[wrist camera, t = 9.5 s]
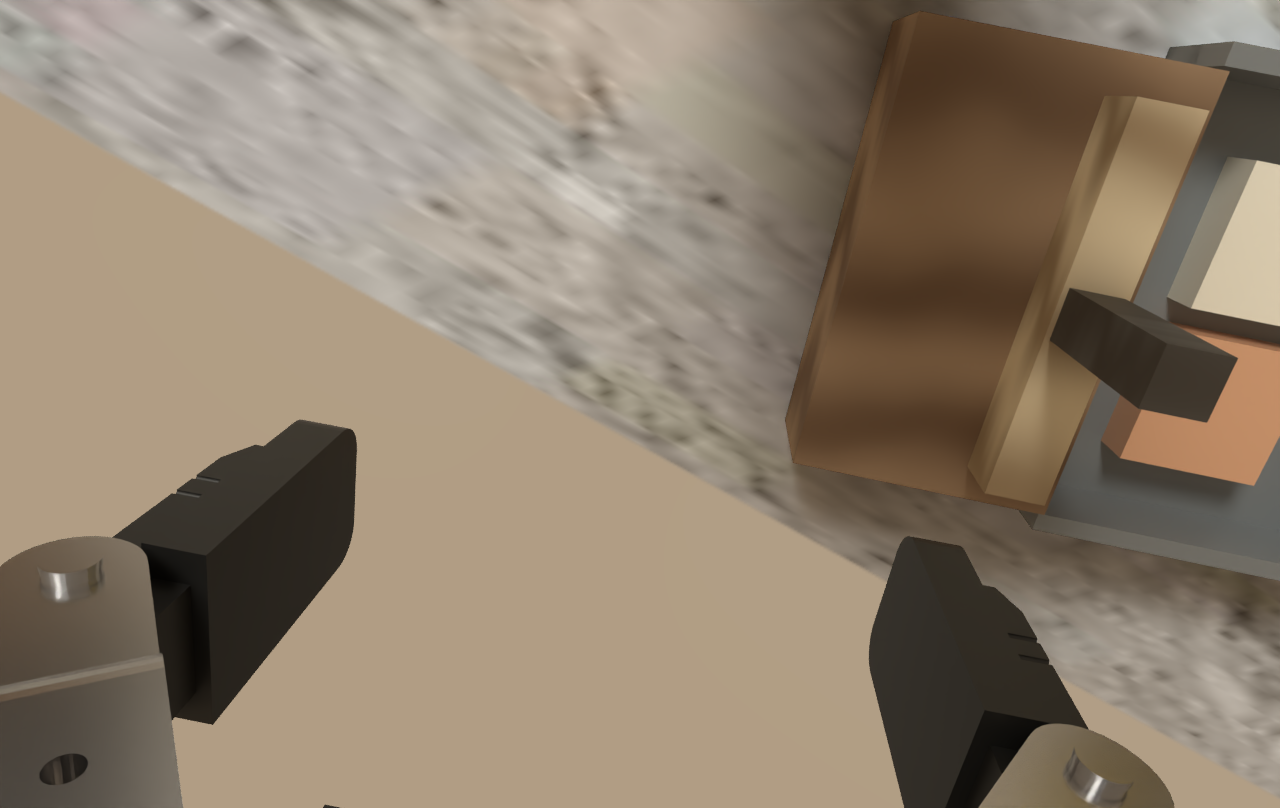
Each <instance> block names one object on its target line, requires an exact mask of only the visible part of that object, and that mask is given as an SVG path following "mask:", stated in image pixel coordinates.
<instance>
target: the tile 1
mask: <svg viewBox="0 0 1280 808" xmlns="http://www.w3.org/2000/svg"><path fill="white" fill-rule="evenodd" d="M1170 323H1172V324H1174V325H1176V326H1178V327H1180V328H1182V329H1183V330H1185V331H1187V332H1189V333H1191V334H1193V335H1195V336H1197V337H1199V338H1201V339H1203V340H1204V341H1206V342H1208V343H1210V344H1212V345H1214V346H1216V347H1218V348H1220V349H1222V350H1224V351H1225V352H1227V353H1229V354H1231V355H1233V356H1235V357H1237V358H1238V360H1237V362H1236V364H1235V366H1234V368H1233V370H1232V372H1231V374H1230V376H1229V379H1228V381H1227V383H1226V385H1225V387H1224V389H1223V391H1222V393H1221V395H1220V397H1219V399H1218V401H1217V404H1216V406H1215V408H1214V410H1213V412H1212V414H1211V416H1210V418H1209V420H1208V422H1207V423H1205V422H1200V421H1195V420H1190V419H1186V418H1181V417H1176V416H1171V415H1166V414H1161V413H1157V412H1152V411H1147V410H1142V409H1138V408H1137V407H1135V406H1134V405H1133V404H1132V403H1130V402H1129V401H1128V400H1126V399H1125V398H1124V397H1122V396H1121V395H1120V397H1119V400H1118V402H1117V404H1116V407H1115V409H1114V411H1113V413H1112V416H1111V418H1110V420H1109V423H1108V425H1107V427H1106V430H1105V432H1104V434H1103V437H1102V439H1101V441H1102V442H1103V443H1104V444H1105V445H1106V446H1108V447H1109V448H1110V449H1111V450H1112V451H1113V452H1114V453H1115V454H1116V455H1117V456H1118V457H1119V458H1122V459H1127V460H1132V461H1136V462H1141V463H1146V464H1151V465H1156V466H1161V467H1165V468H1170V469H1175V470H1180V471H1185V472H1190V473H1194V474H1199V475H1204V476H1209V477H1214V478H1219V479H1223V480H1228V481H1233V482H1238V483H1243V484H1248V485H1252V486H1254V485H1255V483H1256V481H1257V479H1258V477H1259V475H1260V473H1261V471H1262V469H1263V467H1264V465H1265V464H1266V462H1267V460H1268V458H1269V456H1270V454H1271V452H1272V450H1273V448H1274V446H1275V444H1276V442H1277V440H1278V439H1279V437H1280V344H1277V343H1272V342H1267V341H1262V340H1257V339H1252V338H1247V337H1242V336H1237V335H1232V334H1227V333H1222V332H1217V331H1213V330H1208V329H1203V328H1198V327H1193V326H1188V325H1183V324H1178V323H1173V322H1170Z"/></svg>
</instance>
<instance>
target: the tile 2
mask: <svg viewBox="0 0 1280 808" xmlns="http://www.w3.org/2000/svg"><path fill="white" fill-rule="evenodd" d="M1167 297H1168V298H1170V299H1172V300H1174V301H1177V302H1179V303H1181V304H1183V305H1185V306H1187V307H1189V308H1192V309H1197V310H1202V311H1207V312H1212V313H1217V314H1222V315H1227V316H1231V317H1236V318H1241V319H1246V320H1251V321H1256V322H1261V323H1266V324H1271V325H1276V326H1280V165H1277V164H1272V163H1267V162H1262V161H1257V160H1250V159H1242V158H1235V157H1227V159H1226V162H1225V164H1224V166H1223V169H1222V171H1221V173H1220V176H1219V178H1218V180H1217V182H1216V185H1215V187H1214V189H1213V192H1212V194H1211V196H1210V199H1209V201H1208V203H1207V206H1206V208H1205V210H1204V212H1203V215H1202V217H1201V219H1200V222H1199V224H1198V226H1197V229H1196V231H1195V233H1194V236H1193V238H1192V240H1191V242H1190V245H1189V247H1188V249H1187V252H1186V254H1185V256H1184V259H1183V261H1182V263H1181V266H1180V268H1179V270H1178V273H1177V275H1176V277H1175V279H1174V282H1173V284H1172V286H1171V289H1170V291H1169V293H1168V296H1167Z"/></svg>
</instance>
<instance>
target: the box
mask: <svg viewBox="0 0 1280 808" xmlns="http://www.w3.org/2000/svg"><path fill="white" fill-rule="evenodd" d="M1166 59H1169V60H1174V61H1179V62H1184V63H1189V64H1195V65H1200V66H1205V67H1210V68H1215V69H1220V70H1225V71H1230V72H1229V75H1228V77H1227V79H1226V82H1225V84H1224V87H1223V89H1222V91H1221V94H1220V96H1219V99H1218V101H1217V103H1216V106H1215V108H1214V110H1213V113H1212V115H1211V118H1210V120H1209V122H1208V125H1207V127H1206V130H1205V132H1204V134H1203V137H1202V139H1201V142H1200V144H1199V146H1198V149H1197V151H1196V154H1195V156H1194V158H1193V161H1192V163H1191V166H1190V168H1189V170H1188V173H1187V175H1186V178H1185V180H1184V182H1183V185H1182V187H1181V189H1180V192H1179V194H1178V197H1177V199H1176V201H1175V204H1174V206H1173V209H1172V211H1171V213H1170V216H1169V218H1168V221H1167V223H1166V225H1165V228H1164V230H1163V233H1162V235H1161V237H1160V240H1159V242H1158V245H1157V247H1156V249H1155V252H1154V254H1153V256H1152V259H1151V261H1150V264H1149V266H1148V268H1147V271H1146V273H1145V276H1144V278H1143V280H1142V283H1141V285H1140V288H1139V290H1138V292H1137V295H1136V297H1135V300H1134V302H1133V303H1134V304H1136V305H1138V306H1140V307H1141V308H1143V309H1145V310H1147V311H1149V312H1151V313H1153V314H1155V315H1157V316H1159V317H1161V318H1162V319H1164V320H1166V321H1168V322H1173V323H1178V324H1183V325H1188V326H1193V327H1198V328H1203V329H1208V330H1213V331H1217V332H1222V333H1227V334H1232V335H1237V336H1242V337H1247V338H1252V339H1257V340H1262V341H1267V342H1272V343H1277V344H1280V326H1276V325H1271V324H1266V323H1261V322H1256V321H1251V320H1246V319H1241V318H1236V317H1231V316H1227V315H1222V314H1217V313H1212V312H1207V311H1202V310H1197V309H1192V308H1189V307H1187V306H1185V305H1183V304H1181V303H1179V302H1177V301H1174V300H1172V299H1170V298H1168V297H1167V296H1168V293H1169V291H1170V289H1171V286H1172V284H1173V282H1174V279H1175V277H1176V275H1177V273H1178V270H1179V268H1180V266H1181V263H1182V261H1183V259H1184V256H1185V254H1186V252H1187V249H1188V247H1189V245H1190V242H1191V240H1192V238H1193V236H1194V233H1195V231H1196V229H1197V226H1198V224H1199V222H1200V219H1201V217H1202V215H1203V212H1204V210H1205V208H1206V206H1207V203H1208V201H1209V199H1210V196H1211V194H1212V192H1213V189H1214V187H1215V185H1216V182H1217V180H1218V178H1219V176H1220V173H1221V171H1222V169H1223V166H1224V164H1225V162H1226V159H1227V157H1235V158H1242V159H1250V160H1257V161H1262V162H1267V163H1272V164H1277V165H1280V50H1276V49H1270V48H1265V47H1260V46H1255V45H1250V44H1245V43H1240V42H1223V43H1213V44H1202V45H1191V46H1180V47H1170V49H1169V51H1168V54H1167V56H1166ZM1119 397H1120V394H1119V393H1117V392H1116V391H1115V390H1113V389H1112V388H1111V387H1110V386H1108V385H1107V384H1106V383H1104V382H1103V381H1102V380H1101V381H1100V383H1099V386H1098V388H1097V391H1096V393H1095V395H1094V398H1093V400H1092V402H1091V405H1090V407H1089V410H1088V412H1087V414H1086V417H1085V419H1084V422H1083V424H1082V426H1081V429H1080V431H1079V434H1078V436H1077V438H1076V441H1075V443H1074V446H1073V448H1072V450H1071V453H1070V455H1069V458H1068V460H1067V462H1066V465H1065V467H1064V470H1063V472H1062V474H1061V477H1060V479H1059V481H1058V484H1057V486H1056V489H1055V491H1054V493H1053V496H1052V498H1051V501H1050V503H1049V505H1048V508H1047V510H1046V513H1045V515H1042V514H1037V513H1032V512H1027V511H1022V510H1019V511H1020V513H1021V514H1022V515H1023V517H1024V518H1025V520H1026V521H1027V523H1028V524H1029V525H1030V527H1031V528H1032V529H1033V530H1038V531H1043V532H1048V533H1053V534H1057V535H1062V536H1067V537H1072V538H1077V539H1081V540H1086V541H1091V542H1096V543H1101V544H1105V545H1110V546H1115V547H1120V548H1125V549H1129V550H1134V551H1139V552H1144V553H1149V554H1153V555H1158V556H1163V557H1168V558H1173V559H1177V560H1182V561H1187V562H1192V563H1197V564H1201V565H1206V566H1211V567H1216V568H1221V569H1225V570H1230V571H1235V572H1240V573H1244V574H1249V575H1254V576H1259V577H1264V578H1268V579H1273V580H1278V581H1280V437H1279V439H1278V440H1277V442H1276V444H1275V446H1274V448H1273V450H1272V452H1271V454H1270V456H1269V458H1268V460H1267V462H1266V464H1265V465H1264V467H1263V469H1262V471H1261V473H1260V475H1259V477H1258V479H1257V481H1256V483H1255V485H1254V486H1252V485H1248V484H1243V483H1238V482H1233V481H1228V480H1223V479H1219V478H1214V477H1209V476H1204V475H1199V474H1194V473H1190V472H1185V471H1180V470H1175V469H1170V468H1165V467H1161V466H1156V465H1151V464H1146V463H1141V462H1136V461H1132V460H1127V459H1122V458H1119V457H1118V456H1117V455H1116V454H1115V453H1114V452H1113V451H1112V450H1111V449H1110V448H1109V447H1108V446H1106V445H1105V444H1104V443H1103V442H1102V441H1101V439H1102V437H1103V434H1104V432H1105V430H1106V427H1107V425H1108V423H1109V420H1110V418H1111V416H1112V413H1113V411H1114V409H1115V407H1116V404H1117V402H1118V400H1119Z"/></svg>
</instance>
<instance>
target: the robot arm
mask: <svg viewBox="0 0 1280 808" xmlns="http://www.w3.org/2000/svg"><path fill="white" fill-rule="evenodd" d="M356 455H357V443H356V436H355V434H354V432H353V430H351V429H348V428H342V427H337V426H332V425H327V424H321V423H316V422H311V421H306V420H298V421H296V422H294V423H293V424H292V425H290V426H289V427H288V428H287V429H285V430H284V431H283V432H282V433H280V434H279V435H278V436H276V437H275V438H274V439H273V440H271V441H270V442H269V443H267V444H266V445H265V446H259V445H254V446H251V447H248V448H246V449H243V450H240V451H237V452H234V453H231V454H229V455H226V456H223V457H221V458H219V459H218V460H216V461H215V462H214V463H212V464H211V465H210V466H208V467H207V468H206V469H204V470H203V471H202V472H200V473H199V474H198V475H197V477H196V479H191V480H190V481H188V482H187V483H185V484H184V485H183V486H181V487H180V488H179V489H177V493H176V494H170V495H169V496H168V497H167V498H165V499H164V500H162V501H161V502H160V503H158V504H157V505H156V506H154V507H153V508H151V509H150V510H149V511H148V512H146V513H145V514H143V515H142V516H141V517H139V518H138V519H137V520H135V521H134V522H132V523H131V524H130V525H128V526H127V527H126V528H124V529H123V530H122V531H120V532H119V533H118V534H116V535H115V536H114V537H112V538H111V537H99V536H88V537H87V536H86V537H75V538H67V539H61V540H57V541H53V542H49V543H45V544H42V545H39V546H36V547H33V548H31V549H28V550H26V551H24V552H21V553H20V554H18V555H16V556H14V557H12V558H11V559H9V560H8V561H6V562H5V563H4V564H2V565H1V567H0V808H183V804H182V796H181V789H180V782H179V774H178V766H177V759H176V751H175V743H174V735H173V728H172V720H173V718H174V717H177V718H182V719H187V720H192V721H198V722H202V723H207V724H212V725H213V724H214V723H215V721H216V720H217V719H218V717H219V716H220V715H221V714H222V713H223V711H224V710H225V709H226V708H227V706H228V705H229V704H230V703H231V701H232V700H233V699H234V698H235V696H236V695H237V694H238V692H239V691H240V690H241V689H242V687H243V686H244V685H245V684H246V683H247V681H248V680H249V679H250V678H251V676H252V675H253V674H254V673H255V671H256V670H257V669H258V668H259V666H260V665H261V664H262V663H263V661H264V660H265V659H266V658H267V656H268V655H269V654H270V652H271V651H272V650H273V649H274V648H275V646H276V645H277V644H278V643H279V641H280V640H281V639H282V637H283V636H284V635H285V634H286V633H287V631H288V630H289V629H290V628H291V626H292V625H293V624H294V623H295V621H296V620H297V619H298V618H299V616H300V615H301V614H302V613H303V611H304V610H305V609H306V608H307V606H308V605H309V604H310V603H311V601H312V600H313V599H314V598H315V596H316V595H317V594H318V592H319V591H320V590H321V589H322V587H323V586H324V585H325V584H326V582H327V581H328V580H329V579H330V578H331V576H332V575H333V574H334V573H335V571H336V570H337V569H338V567H339V566H340V565H341V563H342V562H343V560H344V558H345V556H346V553H347V551H348V548H349V545H350V541H351V538H352V533H353V527H354V507H355V481H356V480H355V479H356ZM869 666H870V672H871V676H872V680H873V684H874V688H875V692H876V696H877V700H878V704H879V708H880V712H881V716H882V720H883V724H884V728H885V732H886V736H887V740H888V744H889V748H890V752H891V756H892V760H893V764H894V768H895V772H896V776H897V780H898V784H899V788H900V792H901V796H902V800H903V804H904V808H1174V803H1173V800H1172V797H1171V794H1170V793H1169V791H1168V789H1167V787H1166V786H1165V784H1164V783H1163V782H1162V780H1161V779H1160V778H1159V777H1158V775H1157V774H1156V773H1155V772H1154V771H1153V770H1152V769H1151V768H1150V767H1149V766H1148V765H1147V764H1146V763H1144V762H1143V761H1142V760H1141V759H1140V758H1139V757H1137V756H1136V755H1135V754H1133V753H1132V752H1131V751H1129V750H1128V749H1126V748H1125V747H1123V746H1121V745H1120V744H1118V743H1117V742H1115V741H1113V740H1111V739H1109V738H1107V737H1105V736H1103V735H1101V734H1098V733H1096V732H1094V731H1091V730H1089V729H1088V727H1087V726H1086V724H1085V722H1084V720H1083V719H1082V717H1081V715H1080V713H1079V711H1078V710H1077V708H1076V706H1075V705H1074V703H1073V701H1072V699H1071V697H1070V696H1069V694H1068V692H1067V690H1066V689H1065V687H1064V685H1063V683H1062V681H1061V680H1060V678H1059V676H1058V674H1057V673H1056V671H1055V669H1054V667H1053V666H1052V665H1049V659H1048V657H1047V655H1046V653H1045V652H1044V650H1043V648H1042V646H1041V644H1039V643H1037V637H1036V636H1035V634H1034V632H1033V630H1032V629H1031V627H1030V625H1029V623H1028V622H1027V620H1026V618H1025V616H1024V614H1023V613H1022V612H1021V611H1020V610H1019V609H1018V608H1017V607H1016V606H1015V605H1014V604H1012V603H1011V602H1010V601H1009V600H1008V599H1007V598H1006V597H1005V596H1004V595H1003V594H1001V593H1000V592H999V591H998V590H997V589H996V588H995V587H989V586H984V585H982V583H981V581H980V579H979V577H978V576H977V574H976V572H975V570H974V568H973V566H972V564H971V562H970V560H969V558H968V556H967V554H966V552H965V551H964V549H963V548H962V547H961V546H957V545H952V544H947V543H942V542H936V541H931V540H926V539H921V538H915V537H910V536H908V537H906V538H904V540H903V541H902V542H901V544H900V546H899V548H898V551H897V554H896V557H895V560H894V563H893V566H892V569H891V572H890V575H889V578H888V581H887V584H886V588H885V591H884V594H883V597H882V600H881V603H880V606H879V609H878V612H877V615H876V618H875V622H874V625H873V628H872V633H871V638H870V646H869ZM323 808H339V807H334V806H329V805H324V807H323Z"/></svg>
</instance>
